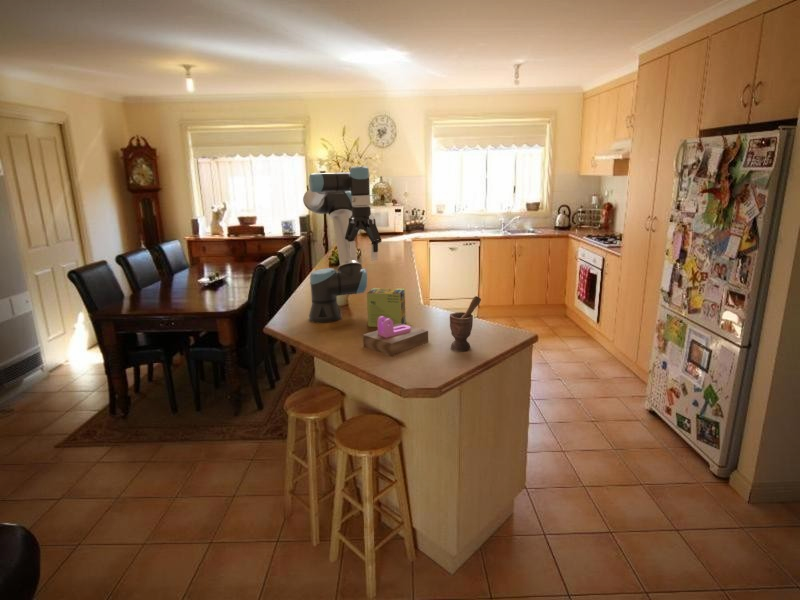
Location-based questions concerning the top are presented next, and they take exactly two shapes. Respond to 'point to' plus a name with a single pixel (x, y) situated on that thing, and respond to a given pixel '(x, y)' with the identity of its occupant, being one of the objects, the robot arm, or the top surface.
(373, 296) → the protein box
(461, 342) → the mortar and pestle
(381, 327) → the bracket
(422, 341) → the walnut block
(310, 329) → the top surface
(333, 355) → the top surface
